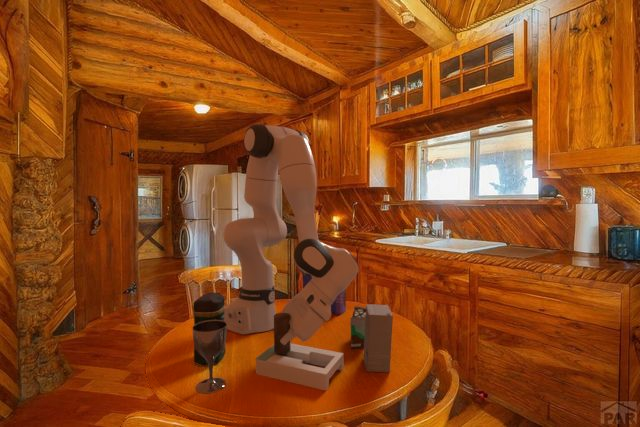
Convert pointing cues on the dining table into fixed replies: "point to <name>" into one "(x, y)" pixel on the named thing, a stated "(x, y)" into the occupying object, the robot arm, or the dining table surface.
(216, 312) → the coffee jar
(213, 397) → the dining table surface
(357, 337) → the food container
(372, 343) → the skincare box
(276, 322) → the knob post
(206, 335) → the wine glass
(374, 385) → the dining table surface
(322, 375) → the keyhole plate
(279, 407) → the dining table surface
